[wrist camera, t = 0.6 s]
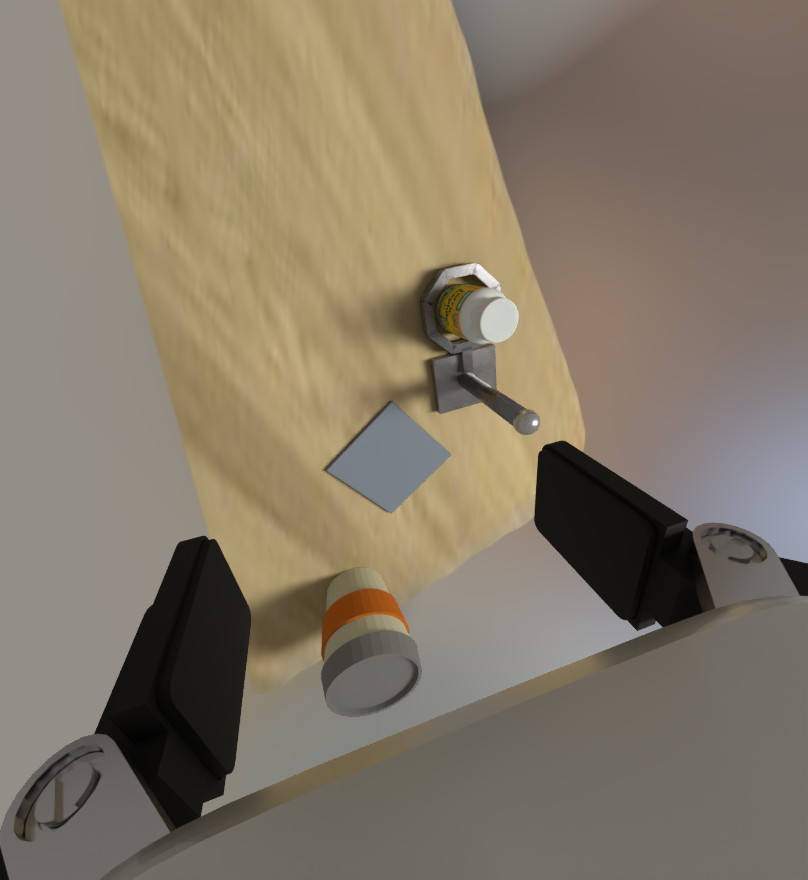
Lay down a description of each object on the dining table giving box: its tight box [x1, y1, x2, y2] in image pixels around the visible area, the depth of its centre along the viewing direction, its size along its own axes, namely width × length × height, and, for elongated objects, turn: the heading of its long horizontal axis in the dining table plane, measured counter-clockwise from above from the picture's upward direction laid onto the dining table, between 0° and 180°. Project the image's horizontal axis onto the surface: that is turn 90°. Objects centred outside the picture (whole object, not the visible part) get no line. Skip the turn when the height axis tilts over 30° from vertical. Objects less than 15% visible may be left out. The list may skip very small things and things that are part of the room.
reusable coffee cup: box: [321, 568, 422, 717], centre depth 50 cm, size 13×13×15 cm
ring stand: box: [420, 263, 540, 435], centre depth 37 cm, size 16×9×15 cm, turn 9°
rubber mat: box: [326, 401, 451, 514], centre depth 48 cm, size 12×12×1 cm
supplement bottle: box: [437, 284, 518, 344], centre depth 37 cm, size 5×5×10 cm
